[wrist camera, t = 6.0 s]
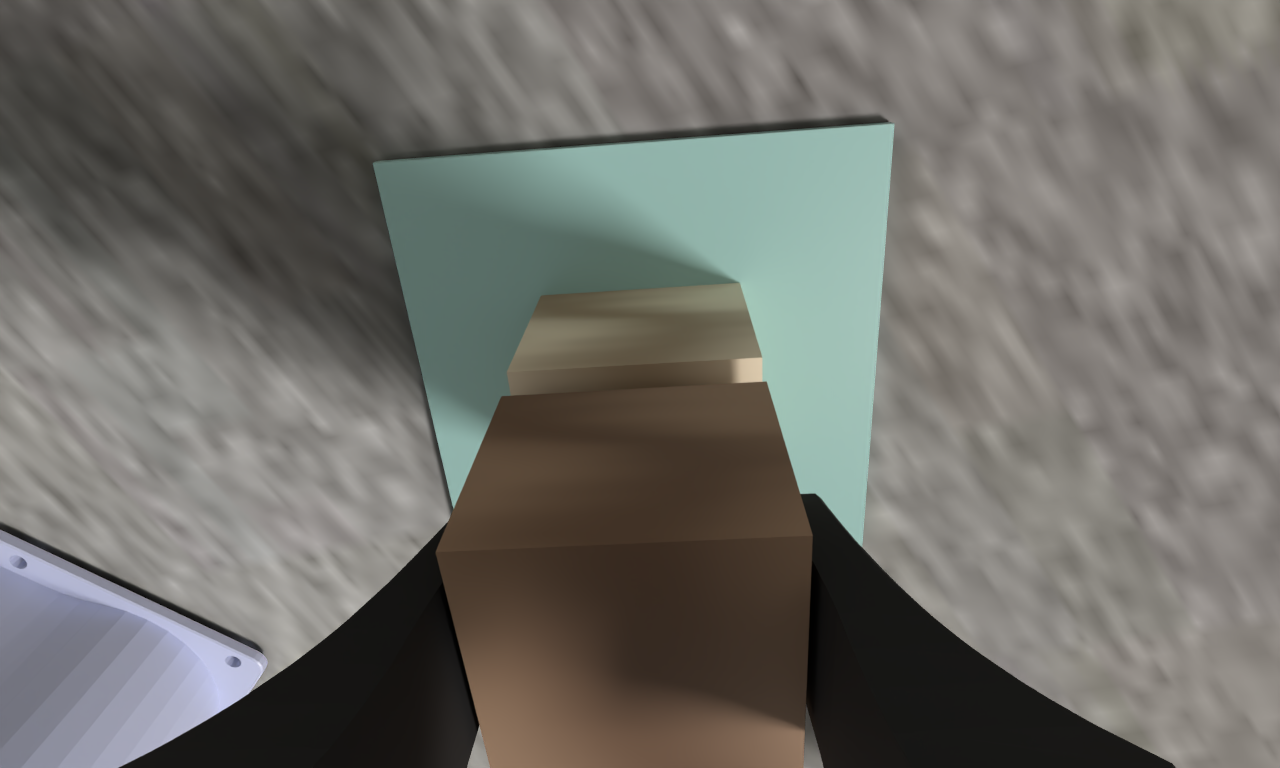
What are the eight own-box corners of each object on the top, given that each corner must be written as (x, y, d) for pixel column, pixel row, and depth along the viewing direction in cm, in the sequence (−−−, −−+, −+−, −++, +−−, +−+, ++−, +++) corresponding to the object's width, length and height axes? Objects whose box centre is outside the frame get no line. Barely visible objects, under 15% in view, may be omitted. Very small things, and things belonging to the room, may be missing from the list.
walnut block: (537, 596, 16) (496, 791, 12) (501, 396, 14) (435, 552, 10) (765, 587, 16) (802, 783, 12) (766, 381, 13) (812, 535, 9)
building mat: (468, 558, 22) (466, 564, 22) (377, 160, 17) (372, 163, 17) (859, 541, 22) (862, 547, 21) (890, 122, 16) (894, 123, 16)
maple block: (565, 462, 20) (541, 570, 16) (541, 295, 18) (506, 372, 14) (742, 453, 20) (763, 561, 16) (739, 282, 18) (762, 357, 14)
